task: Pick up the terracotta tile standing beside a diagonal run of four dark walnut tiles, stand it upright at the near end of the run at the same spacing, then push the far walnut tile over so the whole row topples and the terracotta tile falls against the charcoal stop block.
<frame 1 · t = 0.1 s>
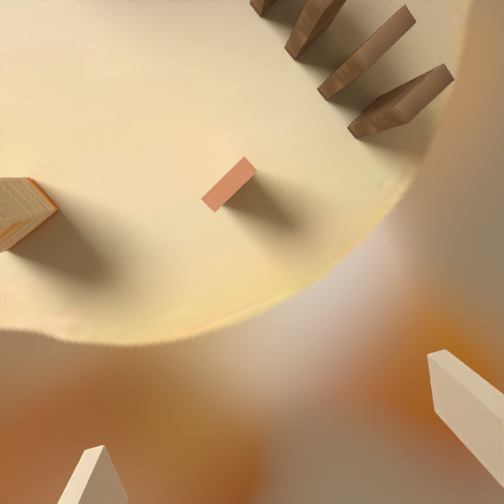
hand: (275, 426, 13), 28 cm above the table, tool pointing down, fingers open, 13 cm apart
walnut tile 3: (306, 37, 35), on the table
terracotta tile: (227, 182, 37), on the table
walnut tile 2: (338, 78, 36), on the table
walnut tile 1: (367, 117, 37), on the table
supplement box: (18, 214, 37), on the table
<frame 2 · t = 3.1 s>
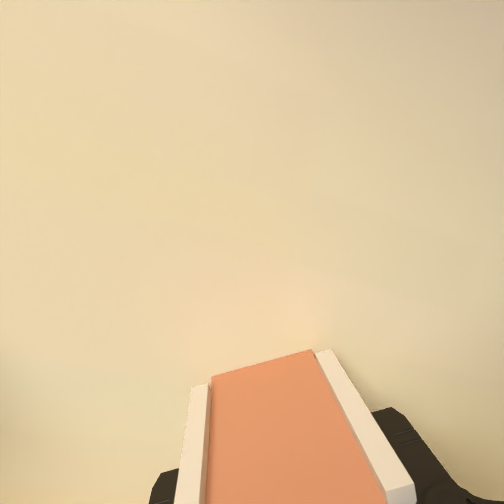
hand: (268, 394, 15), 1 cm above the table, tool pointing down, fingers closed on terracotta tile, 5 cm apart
terracotta tile: (265, 376, 16), on the table, touching gripper
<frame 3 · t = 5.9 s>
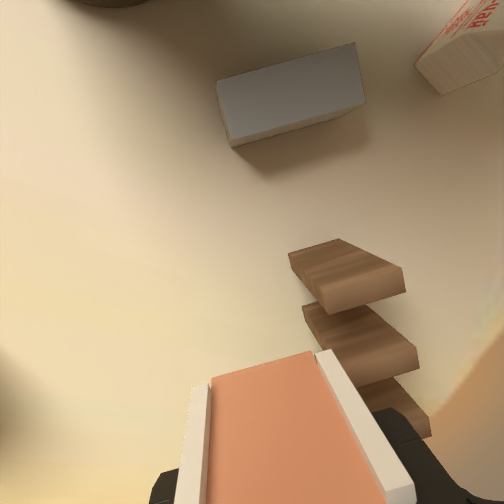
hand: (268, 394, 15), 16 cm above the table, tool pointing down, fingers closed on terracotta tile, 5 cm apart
beige boxy piece: (452, 49, 28), on the table
walnut tile 3: (327, 306, 32), on the table
terracotta tile: (265, 378, 16), point 15 cm above the table, touching gripper
stop block: (280, 108, 27), on the table
walnut tile 2: (339, 354, 33), on the table
walnut tile 4: (315, 254, 30), on the table
when the fingers open (2 cm above the table, at t = 8.9 s): terracotta tile drops 1 cm, on the table.
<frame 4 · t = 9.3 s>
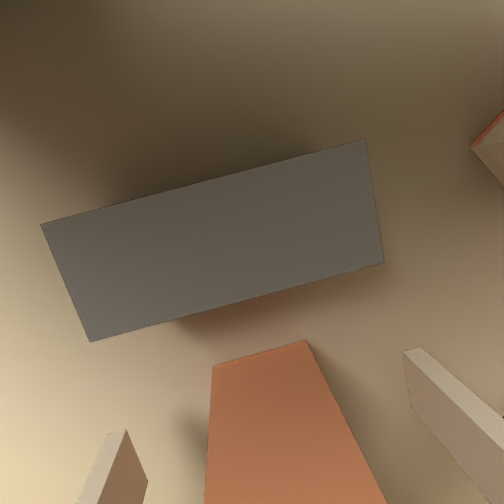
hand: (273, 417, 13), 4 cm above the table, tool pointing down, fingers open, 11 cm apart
terracotta tile: (263, 366, 17), on the table
stop block: (222, 222, 15), on the table
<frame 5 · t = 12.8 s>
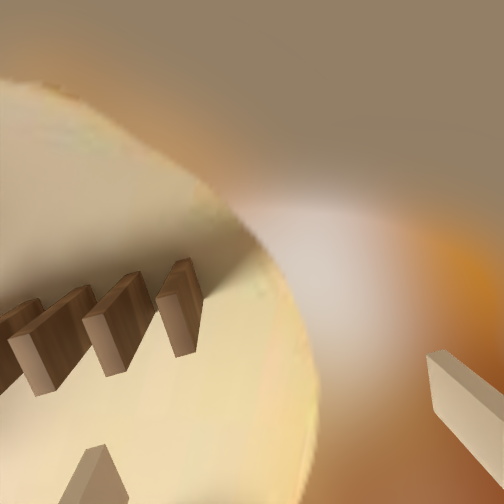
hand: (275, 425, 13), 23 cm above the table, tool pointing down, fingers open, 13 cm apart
walnut tile 3: (90, 307, 35), on the table
walnut tile 2: (140, 294, 35), on the table
walnut tile 1: (189, 280, 35), on the table
walnut tile 4: (40, 321, 34), on the table
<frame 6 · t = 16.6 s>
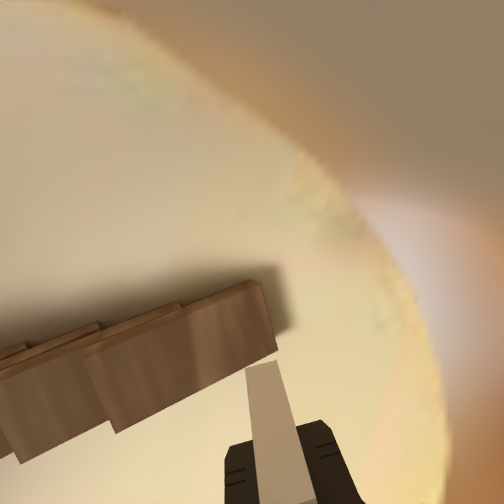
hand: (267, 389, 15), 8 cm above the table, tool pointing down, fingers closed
walnut tile 3: (111, 356, 22), point 1 cm above the table, tilted 62°, touching walnut tile 2, walnut tile 4
walnut tile 2: (189, 336, 22), point 1 cm above the table, tilted 68°, touching walnut tile 1, walnut tile 3
walnut tile 1: (264, 314, 22), point 1 cm above the table, tilted 70°, touching walnut tile 2
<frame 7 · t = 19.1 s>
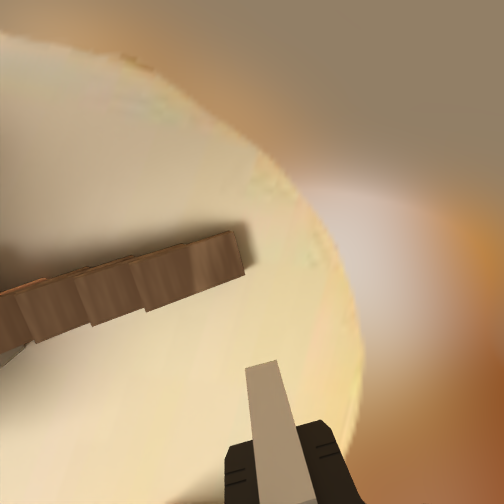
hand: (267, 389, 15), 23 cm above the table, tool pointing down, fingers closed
walnut tile 3: (140, 276, 36), point 1 cm above the table, tilted 62°, touching walnut tile 2, walnut tile 4
walnut tile 2: (189, 265, 36), point 1 cm above the table, tilted 68°, touching walnut tile 1, walnut tile 3
walnut tile 1: (236, 252, 36), point 1 cm above the table, tilted 70°, touching walnut tile 2
walnut tile 4: (96, 287, 36), point 1 cm above the table, tilted 55°, touching terracotta tile, walnut tile 3
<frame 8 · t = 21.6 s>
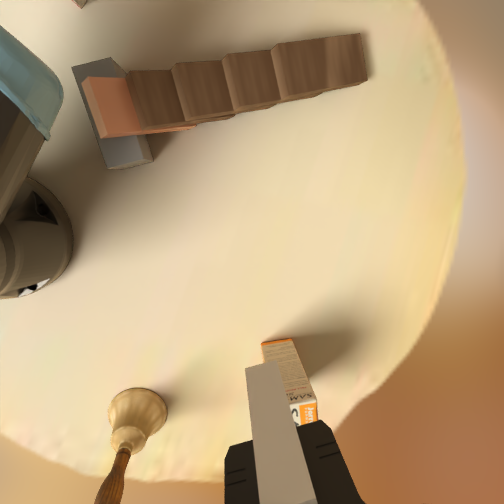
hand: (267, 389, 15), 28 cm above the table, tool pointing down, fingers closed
hand bell: (138, 411, 47), on the table
walnut tile 3: (267, 83, 37), point 1 cm above the table, tilted 62°, touching walnut tile 2, walnut tile 4
terracotta tile: (186, 105, 37), point 1 cm above the table, tilted 46°, touching stop block, walnut tile 4
stop block: (123, 122, 38), on the table
walnut tile 2: (314, 72, 38), point 1 cm above the table, tilted 68°, touching walnut tile 1, walnut tile 3
walnut tile 1: (358, 60, 38), point 1 cm above the table, tilted 70°, touching walnut tile 2
supplement box: (278, 364, 47), on the table
walnut tile 4: (225, 95, 37), point 1 cm above the table, tilted 55°, touching terracotta tile, walnut tile 3
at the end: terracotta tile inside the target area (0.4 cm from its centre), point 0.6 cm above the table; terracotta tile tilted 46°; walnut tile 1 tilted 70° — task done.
